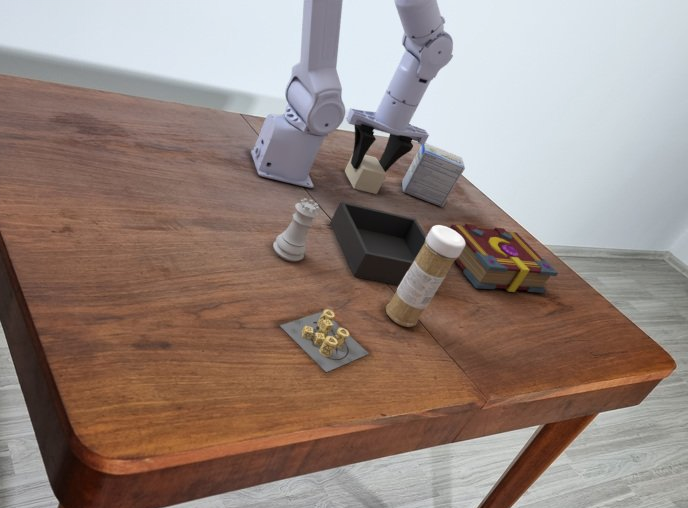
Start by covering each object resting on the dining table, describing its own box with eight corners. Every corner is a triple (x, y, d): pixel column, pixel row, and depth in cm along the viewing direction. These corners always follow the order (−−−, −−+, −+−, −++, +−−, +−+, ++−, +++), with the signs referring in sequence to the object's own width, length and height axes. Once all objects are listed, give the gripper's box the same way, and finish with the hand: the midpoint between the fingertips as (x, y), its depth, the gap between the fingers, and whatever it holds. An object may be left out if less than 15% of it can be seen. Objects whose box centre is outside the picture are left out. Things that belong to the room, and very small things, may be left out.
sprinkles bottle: (403, 305, 96) (452, 224, 88) (422, 328, 93) (474, 246, 85) (378, 305, 93) (425, 222, 86) (396, 329, 90) (447, 245, 83)
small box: (353, 188, 120) (363, 168, 118) (344, 171, 125) (353, 151, 123) (376, 194, 122) (386, 174, 120) (366, 176, 126) (376, 157, 124)
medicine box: (439, 197, 131) (462, 157, 126) (442, 208, 127) (466, 167, 123) (400, 182, 130) (422, 141, 125) (402, 192, 126) (424, 150, 122)
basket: (353, 276, 97) (366, 253, 95) (329, 222, 107) (340, 200, 105) (434, 292, 102) (447, 270, 99) (404, 239, 112) (415, 218, 110)
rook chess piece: (307, 255, 97) (330, 206, 93) (295, 267, 93) (318, 217, 89) (279, 238, 98) (301, 190, 93) (266, 250, 94) (288, 200, 90)
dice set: (322, 319, 86) (328, 308, 85) (351, 347, 83) (358, 335, 82) (294, 329, 82) (301, 317, 81) (324, 358, 80) (331, 346, 79)
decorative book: (437, 244, 114) (452, 219, 112) (507, 252, 122) (523, 229, 120) (475, 290, 107) (492, 264, 104) (547, 295, 115) (565, 271, 112)
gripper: (431, 98, 120) (395, 167, 127) (356, 75, 115) (323, 148, 122) (446, 117, 115) (408, 187, 122) (368, 93, 110) (334, 168, 117)
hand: (366, 169), depth 122 cm, fingers closed on small box, 4 cm apart
